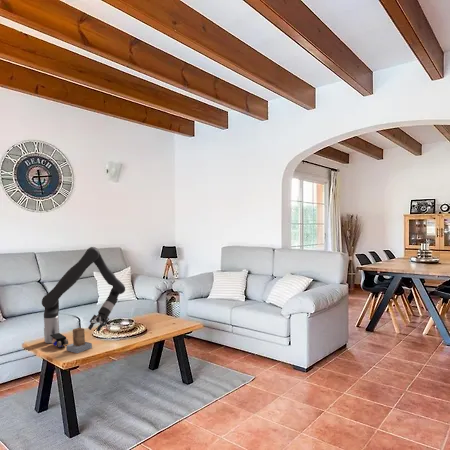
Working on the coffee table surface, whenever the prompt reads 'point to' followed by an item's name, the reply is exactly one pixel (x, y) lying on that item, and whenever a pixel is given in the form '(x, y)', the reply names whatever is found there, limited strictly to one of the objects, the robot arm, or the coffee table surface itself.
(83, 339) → the walnut block
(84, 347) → the blue-grey square slab
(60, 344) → the figurine character
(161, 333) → the coffee table surface
